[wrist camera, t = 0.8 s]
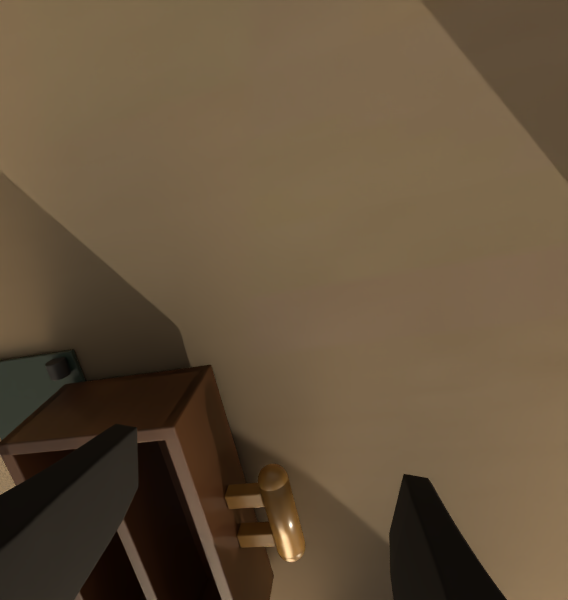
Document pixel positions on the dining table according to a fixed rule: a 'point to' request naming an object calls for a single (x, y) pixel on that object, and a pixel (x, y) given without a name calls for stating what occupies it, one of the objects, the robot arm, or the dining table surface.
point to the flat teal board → (33, 384)
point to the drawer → (169, 489)
